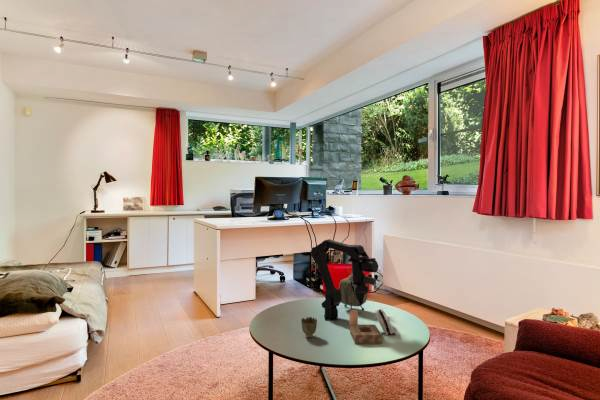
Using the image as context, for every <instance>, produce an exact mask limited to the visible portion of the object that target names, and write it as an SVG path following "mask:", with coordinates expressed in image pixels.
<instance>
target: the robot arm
mask: <svg viewBox="0 0 600 400" xmlns="http://www.w3.org/2000/svg"><path fill="white" fill-rule="evenodd" d="M330 249H331V250H335V251H338V252H342V253H345V254H346V256H348V257H350V258H348V259H347V262H348V263H351V267H352V268H351V273H352V279H351V280H350V285H351V287H352V290H353V292H354V294H355V296H356V299H357V300H358V301H359V304H360V305H361V306H363V305H364V304H363V299H364V295H365V294H366V293H367V294H368V292H369V287H368V285H371V286H373V287H374V286H375V284H376V282H377V279H376V278H375V277H374V276H373V275H372V274H370V273H377V272H378V270H379V263H378V262H377V260H376V258H375V257H369V255H368V254H367V252H366V250H365V248H364V246H363V245H361V244H347V243H344V242H339V241H336V240H332V239H325V240H323V241H322V242H320V243H319V244H318V245H316V246H314V247H312V248H311V250H310V255H311V257H312V260H314V261H315V262H316V264H317V266H318V269H319V272H320V276H321V279H322V282H323V285H324V289H325V292H324V299H325V300H324V301H322V302H321V308H323V309H324V310H323V311H324V312H323V313H324V314H323V318H324V320H325V321H338V318H339V310H338V307H339V306H340V303H341V300H342V295H341V293H340V290H339V288H336V287H335V284H334V282H333V277H332V275H331V271H330V268H329V266H328V262H327V257H328V253H327V252H329V250H330ZM364 272H365V273H364ZM366 272H367V273H368V274H367V275H366ZM366 283H367V286H366V285H365V284H366Z"/></svg>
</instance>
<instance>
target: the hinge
mask: <svg viewBox="0 0 600 400" xmlns="http://www.w3.org/2000/svg"><path fill="white" fill-rule="evenodd" d="M375 316H376V318H377V322H378V324H379V325H380V327H381V330H382V331H383V333H384V335H385V336H389V335H392V334H394V335H395V336H397V333H396V331H395V329H394V328H393V326H392V324H391V323H390V321H389V318H388V316H387V313H386V312H385V311H384V309H383V308H379V309H376V310H375Z"/></svg>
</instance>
